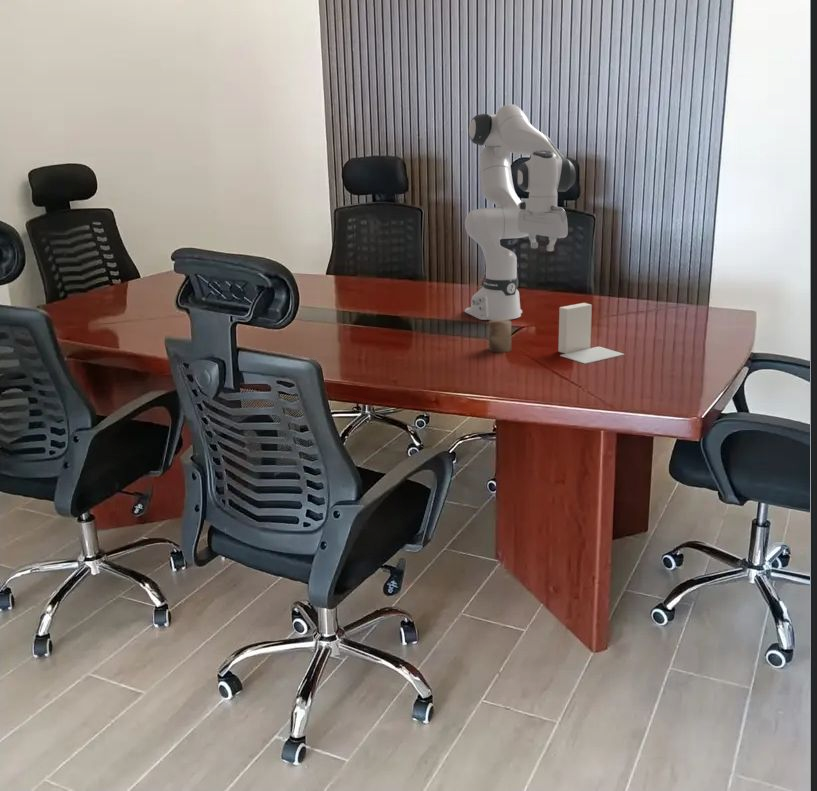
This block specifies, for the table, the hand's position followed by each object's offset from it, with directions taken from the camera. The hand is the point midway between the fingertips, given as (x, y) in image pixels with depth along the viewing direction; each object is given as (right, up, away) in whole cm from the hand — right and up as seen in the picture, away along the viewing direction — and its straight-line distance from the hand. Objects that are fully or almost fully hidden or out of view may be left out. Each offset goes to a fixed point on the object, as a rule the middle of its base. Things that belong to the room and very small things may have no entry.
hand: (542, 249), depth 279 cm
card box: (+9, -32, -4) cm, 34 cm away
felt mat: (+14, -34, -11) cm, 38 cm away
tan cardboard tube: (-14, -32, -1) cm, 34 cm away
